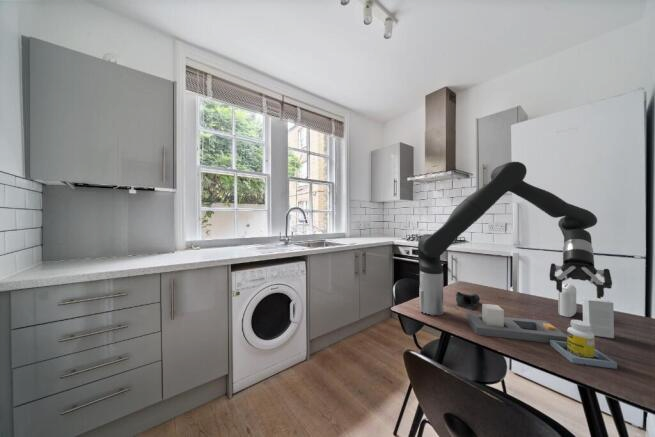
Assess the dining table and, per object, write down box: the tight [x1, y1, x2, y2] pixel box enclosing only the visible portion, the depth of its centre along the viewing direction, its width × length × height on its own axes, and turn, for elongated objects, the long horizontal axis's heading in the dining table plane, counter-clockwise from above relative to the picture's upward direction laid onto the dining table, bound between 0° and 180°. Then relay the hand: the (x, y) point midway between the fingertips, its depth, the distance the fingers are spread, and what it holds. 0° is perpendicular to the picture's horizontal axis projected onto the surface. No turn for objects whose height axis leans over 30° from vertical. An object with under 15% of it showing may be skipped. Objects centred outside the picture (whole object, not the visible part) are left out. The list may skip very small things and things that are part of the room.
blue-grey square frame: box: [549, 340, 618, 370], centre depth 68 cm, size 10×10×2 cm
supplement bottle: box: [566, 319, 596, 359], centre depth 68 cm, size 5×5×10 cm
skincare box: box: [581, 296, 615, 339], centre depth 80 cm, size 6×4×12 cm
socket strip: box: [465, 303, 567, 344], centre depth 83 cm, size 26×12×8 cm, turn 74°
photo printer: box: [557, 283, 577, 318], centre depth 97 cm, size 10×4×12 cm, turn 123°
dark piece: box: [455, 291, 480, 311], centre depth 108 cm, size 9×8×12 cm
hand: (579, 294), depth 76 cm, fingers open, 8 cm apart
